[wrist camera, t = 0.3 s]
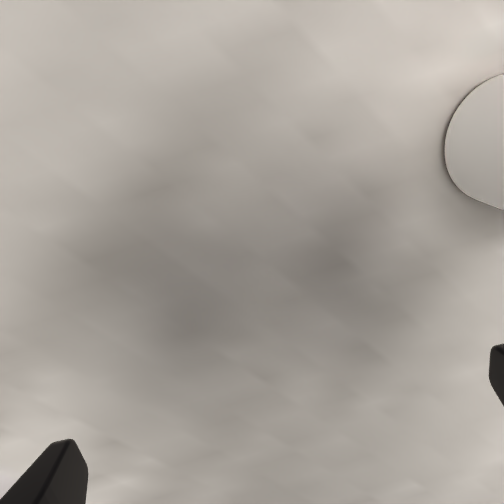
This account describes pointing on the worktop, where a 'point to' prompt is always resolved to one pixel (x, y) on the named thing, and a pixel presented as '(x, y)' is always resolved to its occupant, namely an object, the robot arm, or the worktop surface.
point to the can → (479, 144)
